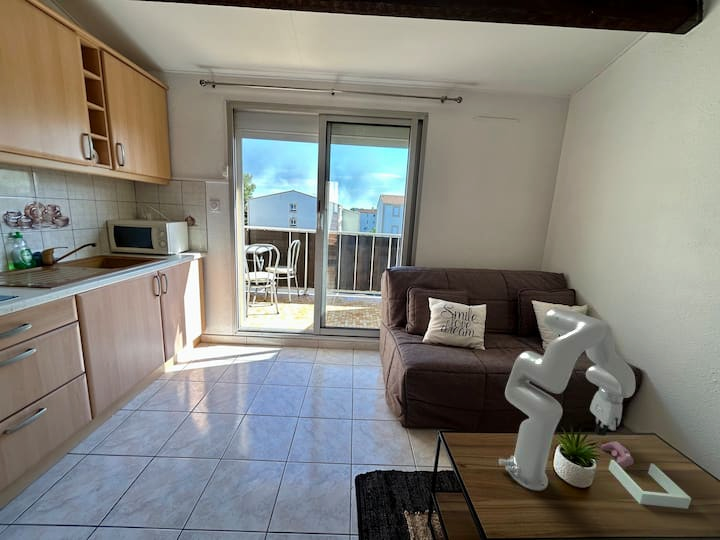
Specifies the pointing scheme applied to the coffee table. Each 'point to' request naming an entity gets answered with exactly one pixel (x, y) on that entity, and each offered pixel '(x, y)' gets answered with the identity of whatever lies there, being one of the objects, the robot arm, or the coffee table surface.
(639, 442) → the coffee table surface
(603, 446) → the video game controller
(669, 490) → the box
